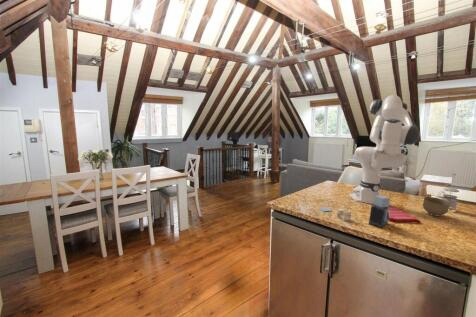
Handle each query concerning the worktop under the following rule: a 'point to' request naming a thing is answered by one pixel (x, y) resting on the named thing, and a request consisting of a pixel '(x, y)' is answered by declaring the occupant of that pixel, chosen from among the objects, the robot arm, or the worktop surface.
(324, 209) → the tile
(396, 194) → the worktop surface
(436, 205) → the bowl
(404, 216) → the dish towel
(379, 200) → the grey cube
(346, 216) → the maple block
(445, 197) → the french press
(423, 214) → the worktop surface
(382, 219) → the small box
